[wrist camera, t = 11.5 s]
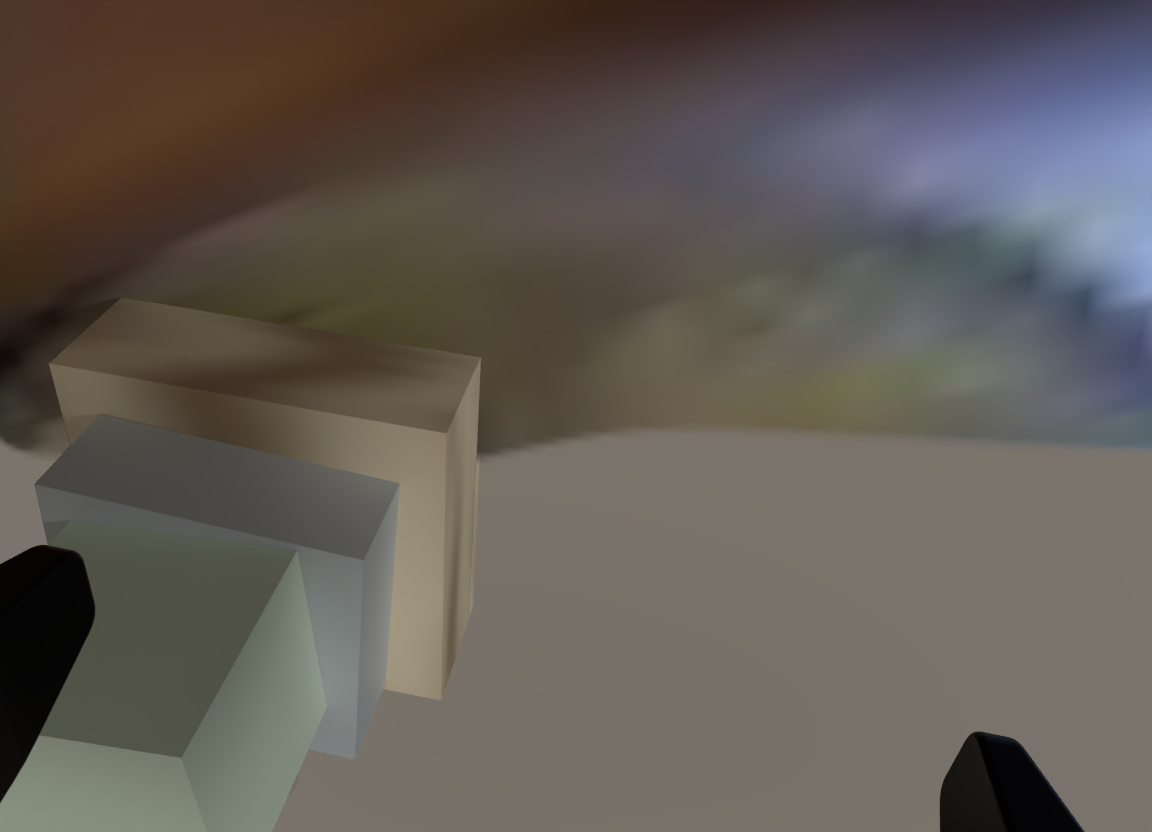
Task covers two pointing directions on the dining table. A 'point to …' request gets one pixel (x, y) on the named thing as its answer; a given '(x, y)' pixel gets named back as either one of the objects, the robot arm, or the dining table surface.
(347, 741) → the slate slab
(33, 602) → the robot arm
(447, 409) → the oak base block
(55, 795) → the sage cube
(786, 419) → the dining table surface
